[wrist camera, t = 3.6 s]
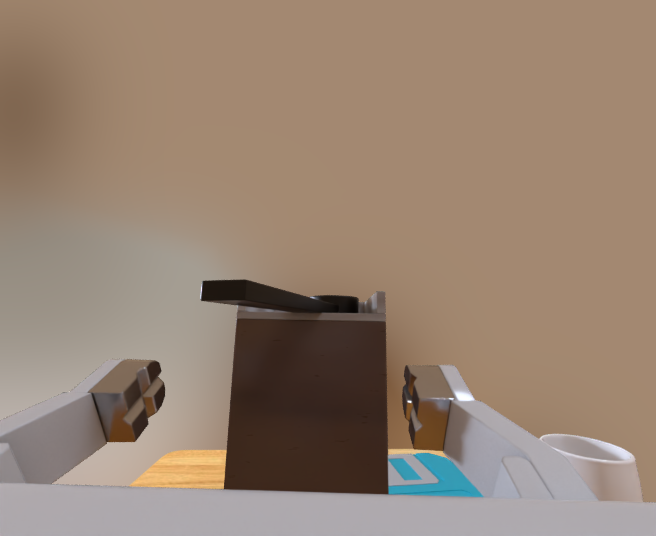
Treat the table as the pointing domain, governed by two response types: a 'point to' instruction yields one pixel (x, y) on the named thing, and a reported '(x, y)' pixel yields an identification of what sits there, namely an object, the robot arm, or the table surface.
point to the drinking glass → (600, 466)
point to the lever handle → (274, 298)
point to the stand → (309, 401)
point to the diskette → (427, 476)
